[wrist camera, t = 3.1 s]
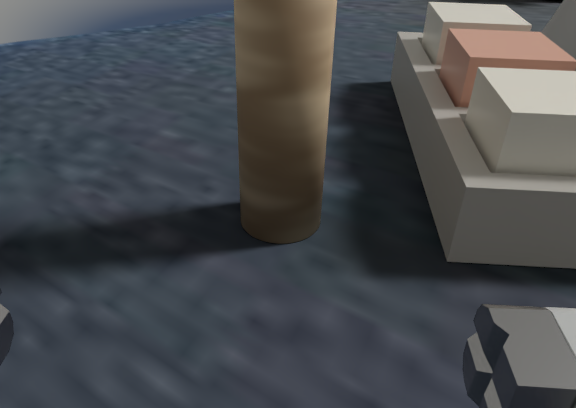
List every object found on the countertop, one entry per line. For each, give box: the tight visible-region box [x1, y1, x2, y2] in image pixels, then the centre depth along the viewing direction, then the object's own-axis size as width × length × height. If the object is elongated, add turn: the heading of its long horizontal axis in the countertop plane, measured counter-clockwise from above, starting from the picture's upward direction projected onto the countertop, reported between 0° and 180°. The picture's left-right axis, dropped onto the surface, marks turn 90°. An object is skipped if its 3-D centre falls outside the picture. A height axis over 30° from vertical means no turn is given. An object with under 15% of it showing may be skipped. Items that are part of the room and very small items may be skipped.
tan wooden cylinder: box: [234, 0, 337, 244], centre depth 20 cm, size 4×4×13 cm
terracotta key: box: [439, 28, 576, 107], centre depth 27 cm, size 5×5×3 cm
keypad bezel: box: [391, 32, 576, 269], centre depth 28 cm, size 8×21×4 cm, turn 177°
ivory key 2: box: [465, 67, 576, 177], centre depth 22 cm, size 5×5×3 cm
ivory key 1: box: [421, 2, 532, 65], centre depth 32 cm, size 5×5×3 cm
